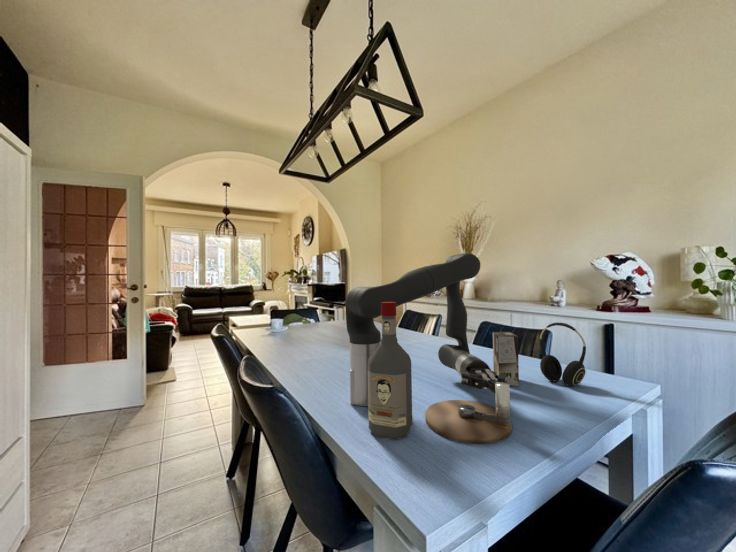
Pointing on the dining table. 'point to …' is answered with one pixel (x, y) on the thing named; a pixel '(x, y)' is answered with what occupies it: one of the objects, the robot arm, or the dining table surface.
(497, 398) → the silver bent piece
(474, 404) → the round wooden board
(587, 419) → the dining table surface
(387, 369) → the liquor
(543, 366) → the headphones
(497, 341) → the coffee box
